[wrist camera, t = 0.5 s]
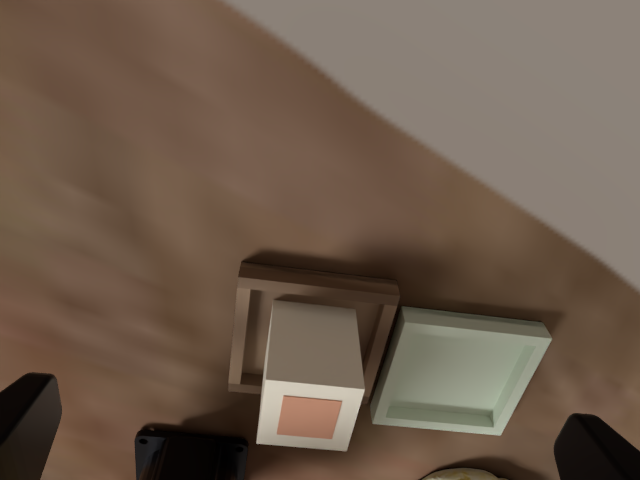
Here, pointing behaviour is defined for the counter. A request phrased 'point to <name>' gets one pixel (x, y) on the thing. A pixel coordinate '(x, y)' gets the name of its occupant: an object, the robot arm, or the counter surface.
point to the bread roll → (462, 475)
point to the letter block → (311, 377)
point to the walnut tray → (310, 288)
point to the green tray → (456, 370)
